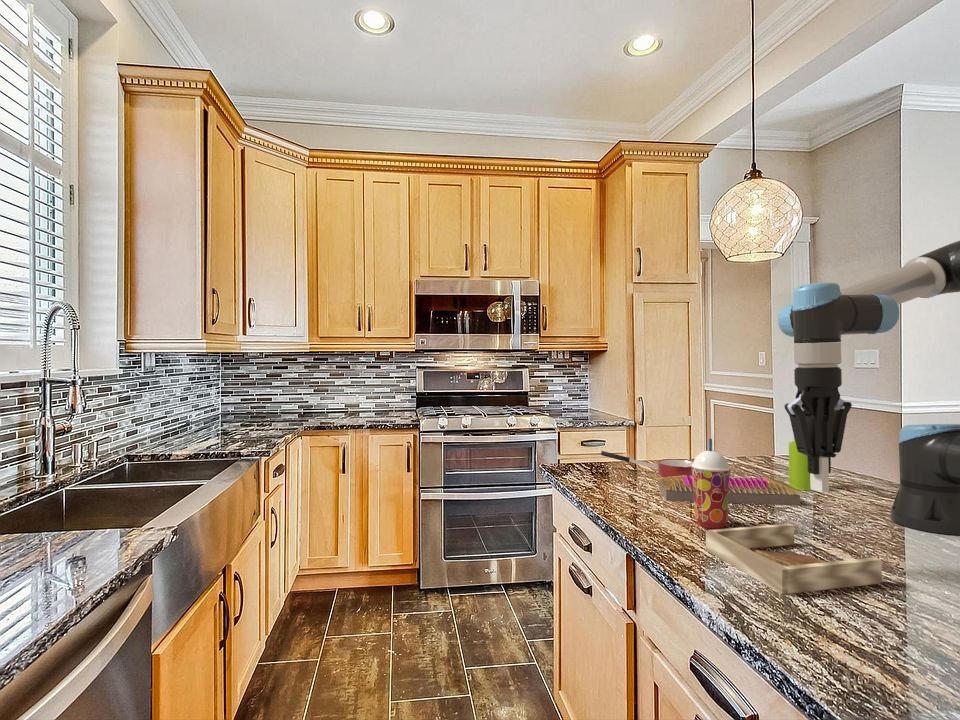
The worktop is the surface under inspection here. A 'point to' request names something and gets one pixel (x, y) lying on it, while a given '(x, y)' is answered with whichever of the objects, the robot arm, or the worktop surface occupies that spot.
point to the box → (787, 579)
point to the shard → (788, 558)
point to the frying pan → (661, 465)
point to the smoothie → (711, 488)
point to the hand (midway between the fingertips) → (819, 490)
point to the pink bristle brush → (735, 490)
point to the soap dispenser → (798, 469)
